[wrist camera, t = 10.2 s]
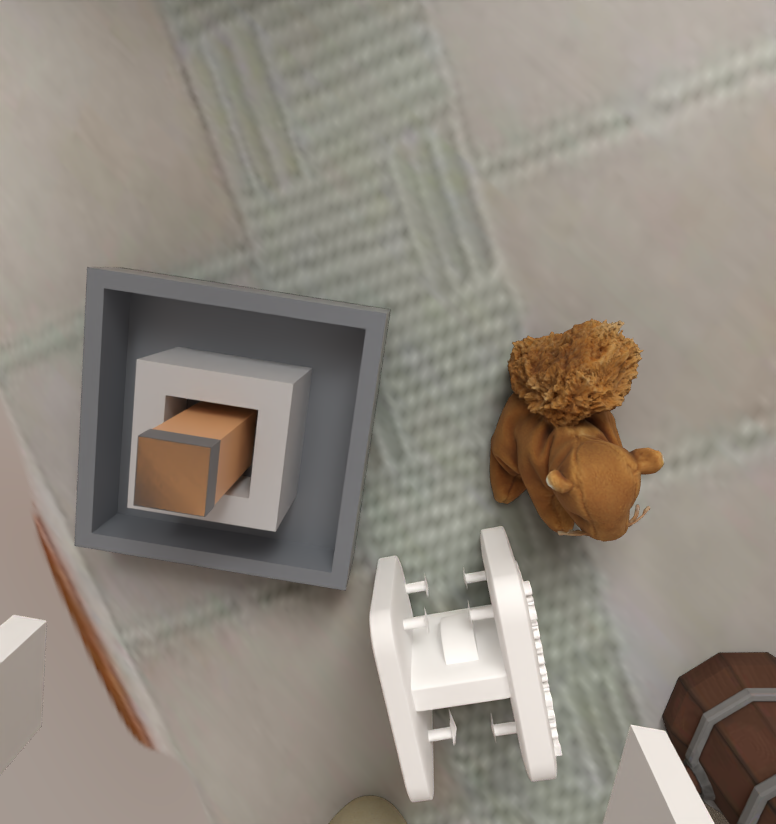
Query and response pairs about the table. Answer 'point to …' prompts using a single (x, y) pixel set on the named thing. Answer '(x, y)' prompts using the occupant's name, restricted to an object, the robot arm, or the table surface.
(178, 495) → the plug
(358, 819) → the beige bowl
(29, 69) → the table surface
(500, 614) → the cable organizer
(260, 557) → the box
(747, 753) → the mug
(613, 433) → the stuffed squirrel
